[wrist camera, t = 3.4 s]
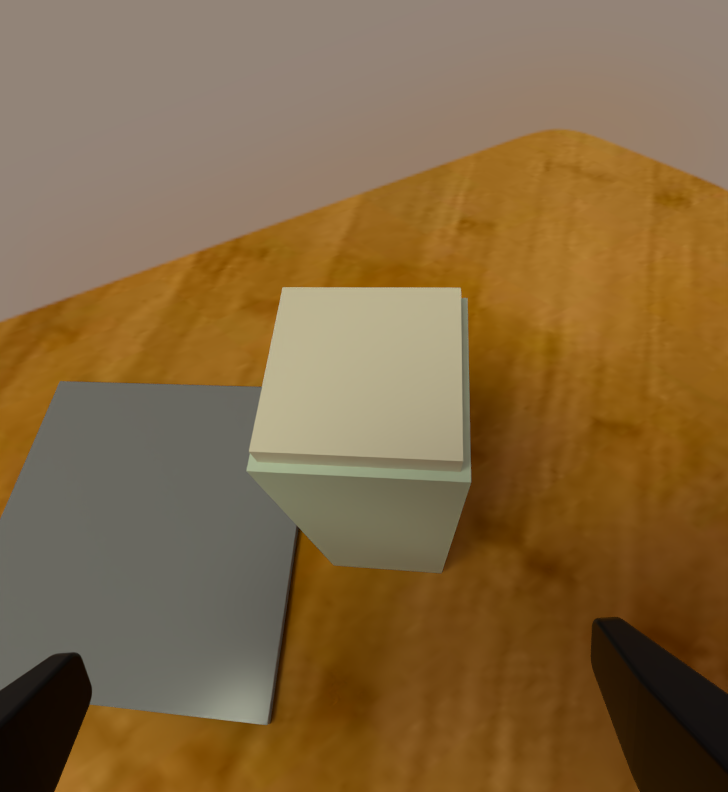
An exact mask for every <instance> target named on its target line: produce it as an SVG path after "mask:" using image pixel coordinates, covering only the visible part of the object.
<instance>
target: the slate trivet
mask: <svg viewBox="0 0 728 792" xmlns="http://www.w3.org/2000/svg"><path fill="white" fill-rule="evenodd" d="M261 390H262V387H242V386H206V385H171V384H135V383H99V382H64V381H60V383H59V385H58V387H57V390H56V392H55V394H54V396H53V399H52V401H51V403H50V406H49V408H48V410H47V413H46V415H45V417H44V420H43V422H42V424H41V426H40V429H39V431H38V433H37V436H36V438H35V440H34V443H33V445H32V447H31V450H30V452H29V454H28V456H27V459H26V461H25V463H24V466H23V468H22V470H21V473H20V475H19V477H18V480H17V482H16V484H15V487H14V489H13V491H12V493H11V496H10V498H9V500H8V503H7V505H6V507H5V510H4V512H3V514H2V517H1V519H0V690H2V689H3V688H4V687H6V686H7V685H9V684H10V683H12V682H13V681H15V680H16V679H18V678H19V677H20V676H22V675H23V674H25V673H26V672H28V671H29V670H31V669H32V668H34V667H35V666H36V665H38V664H39V663H41V662H42V661H44V660H45V659H47V658H48V657H50V656H51V655H53V654H57V653H67V652H76V653H78V654H80V655H81V657H82V659H83V662H84V665H85V668H86V671H87V673H88V676H89V679H90V682H91V685H92V698H91V702H90V704H92V705H100V706H109V707H117V708H126V709H134V710H143V711H151V712H160V713H169V714H177V715H186V716H194V717H203V718H211V719H220V720H228V721H237V722H246V723H254V724H263V725H268V724H270V721H271V714H272V707H273V700H274V693H275V686H276V679H277V672H278V665H279V659H280V652H281V645H282V638H283V631H284V624H285V617H286V610H287V603H288V597H289V590H290V583H291V576H292V569H293V562H294V555H295V548H296V541H297V534H298V528H299V527H298V526H297V525H296V524H295V523H294V522H293V521H292V520H291V519H290V518H289V517H288V515H287V514H286V513H285V512H284V511H283V510H282V509H281V508H280V507H279V506H278V505H277V504H276V503H275V501H274V500H273V499H272V498H271V497H270V496H269V495H268V494H267V493H266V492H265V491H264V490H263V489H262V487H261V486H260V485H259V484H258V483H257V482H256V481H255V480H254V479H253V478H252V477H251V476H250V475H249V473H248V472H247V471H246V470H247V465H248V460H249V455H250V453H249V448H250V443H251V438H252V433H253V428H254V423H255V419H256V414H257V409H258V404H259V399H260V395H261Z"/></svg>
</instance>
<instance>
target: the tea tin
mask: <svg viewBox="0 0 728 792" xmlns="http://www.w3.org/2000/svg"><path fill="white" fill-rule="evenodd" d="M249 453H250V455H249V460H248V465H247V470H246V471H247V472H248V473H249V475H250V476H251V477H252V478H253V479H254V480H255V481H256V482H257V483H258V484H259V485H260V486H261V487H262V489H263V490H264V491H265V492H266V493H267V494H268V495H269V496H270V497H271V498H272V499H273V500H274V501H275V503H276V504H277V505H278V506H279V507H280V508H281V509H282V510H283V511H284V512H285V513H286V514H287V515H288V517H289V518H290V519H291V520H292V521H293V522H294V523H295V524H296V525H297V526H298V527H299V528H300V529H301V530H302V532H303V533H304V534H305V535H306V536H307V537H308V538H309V539H310V540H311V541H312V542H313V543H314V544H315V546H316V547H317V548H318V549H319V550H320V551H321V552H322V553H323V554H324V555H325V556H326V557H327V558H328V560H329V561H330V562H331V563H332V564H333V565H336V566H349V567H363V568H376V569H390V570H404V571H417V572H431V573H442V570H443V567H444V564H445V561H446V558H447V555H448V552H449V549H450V546H451V543H452V540H453V537H454V534H455V531H456V527H457V524H458V521H459V518H460V515H461V512H462V509H463V506H464V503H465V500H466V497H467V494H468V491H469V488H470V484H471V451H470V402H469V353H468V305H467V298H461V288H309V287H283V288H282V293H281V298H280V303H279V308H278V313H277V317H276V322H275V327H274V332H273V337H272V341H271V346H270V351H269V356H268V361H267V366H266V370H265V375H264V380H263V385H262V390H261V395H260V399H259V404H258V409H257V414H256V419H255V423H254V428H253V433H252V438H251V443H250V448H249Z"/></svg>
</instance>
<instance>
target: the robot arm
mask: <svg viewBox="0 0 728 792" xmlns="http://www.w3.org/2000/svg"><path fill="white" fill-rule="evenodd" d="M591 663H592V668H593V671H594V674H595V677H596V680H597V682H598V685H599V688H600V691H601V693H602V696H603V699H604V701H605V704H606V707H607V709H608V712H609V715H610V718H611V720H612V723H613V726H614V728H615V731H616V734H617V736H618V739H619V742H620V744H621V747H622V750H623V753H624V755H625V758H626V760H627V763H628V766H629V768H630V771H631V773H632V776H633V778H634V780H635V782H636V784H637V787H638V789H639V791H640V792H728V694H727V693H726V692H724V691H723V690H722V689H720V688H719V687H717V686H716V685H715V684H713V683H712V682H710V681H709V680H707V679H706V678H705V677H703V676H702V675H700V674H699V673H698V672H696V671H695V670H693V669H692V668H691V667H689V666H688V665H686V664H685V663H684V662H682V661H681V660H679V659H678V658H676V657H675V656H674V655H672V654H671V653H669V652H668V651H667V650H665V649H664V648H662V647H661V646H660V645H658V644H657V643H655V642H654V641H652V640H651V639H650V638H648V637H647V636H645V635H644V634H643V633H641V632H640V631H638V630H637V629H636V628H634V627H633V626H631V625H630V624H629V623H627V622H626V621H624V620H623V619H621V618H618V617H607V618H596V619H595V620H594V621H593V623H592V638H591ZM91 698H92V685H91V682H90V679H89V676H88V673H87V671H86V668H85V665H84V662H83V659H82V657H81V655H80V654H78V653H76V652H67V653H57V654H53V655H51V656H50V657H48V658H47V659H45V660H44V661H42V662H41V663H39V664H38V665H36V666H35V667H34V668H32V669H31V670H29V671H28V672H26V673H25V674H23V675H22V676H20V677H19V678H18V679H16V680H15V681H13V682H12V683H10V684H9V685H7V686H6V687H4V688H3V689H2V690H0V792H54V791H55V789H56V787H57V784H58V782H59V779H60V777H61V774H62V772H63V769H64V767H65V764H66V762H67V759H68V757H69V754H70V752H71V749H72V747H73V744H74V742H75V739H76V737H77V735H78V732H79V730H80V727H81V725H82V722H83V720H84V717H85V715H86V712H87V710H88V707H89V705H90V702H91Z"/></svg>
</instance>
